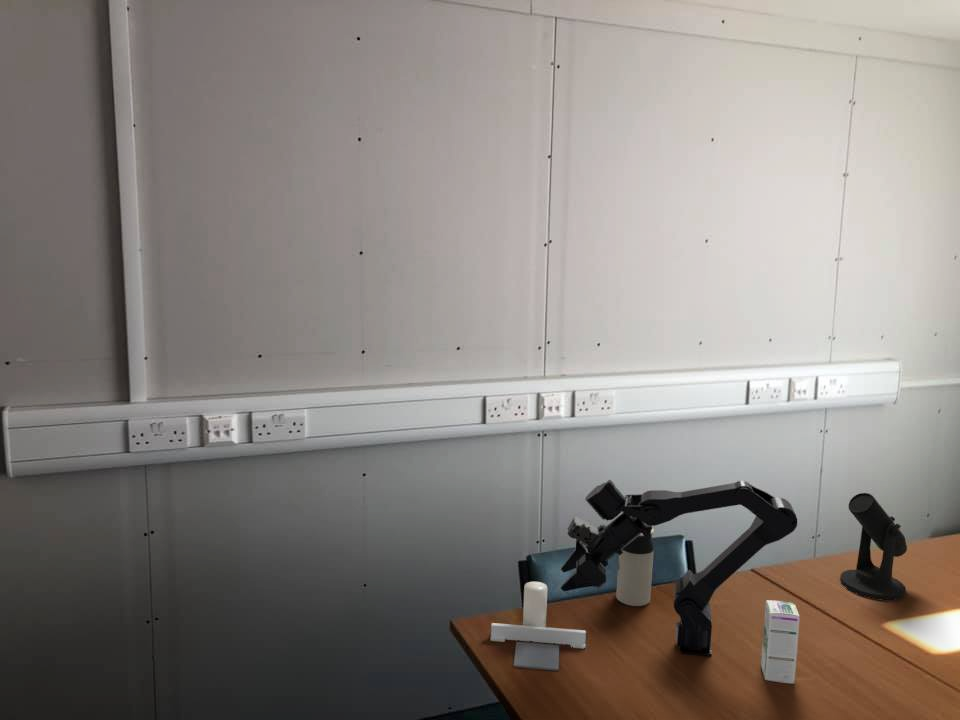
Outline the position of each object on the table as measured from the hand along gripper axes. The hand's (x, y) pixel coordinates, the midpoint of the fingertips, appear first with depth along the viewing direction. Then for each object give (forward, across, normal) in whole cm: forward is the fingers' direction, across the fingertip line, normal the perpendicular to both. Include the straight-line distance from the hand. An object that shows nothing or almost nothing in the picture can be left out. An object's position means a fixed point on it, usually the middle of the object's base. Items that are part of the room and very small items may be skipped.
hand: (562, 579), depth 166 cm
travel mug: (-4, -18, +21) cm, 28 cm away
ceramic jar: (+12, 0, +5) cm, 13 cm away
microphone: (-47, -35, +64) cm, 87 cm away
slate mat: (+12, +11, +5) cm, 17 cm away
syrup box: (-22, +10, +39) cm, 46 cm away
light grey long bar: (+12, +5, +5) cm, 14 cm away
